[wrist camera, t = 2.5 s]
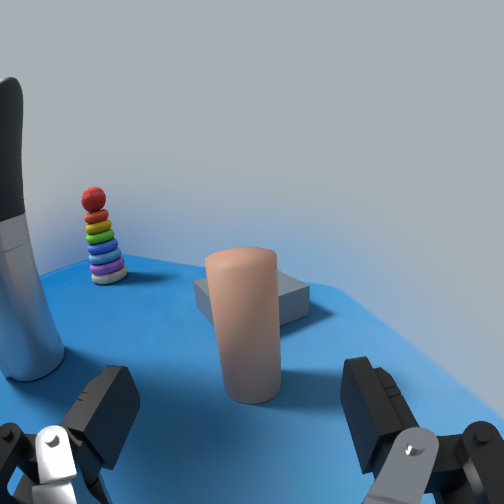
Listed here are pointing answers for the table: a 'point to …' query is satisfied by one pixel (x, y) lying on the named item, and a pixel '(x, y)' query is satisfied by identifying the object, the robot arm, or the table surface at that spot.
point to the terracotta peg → (246, 321)
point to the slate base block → (289, 295)
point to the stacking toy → (101, 240)
